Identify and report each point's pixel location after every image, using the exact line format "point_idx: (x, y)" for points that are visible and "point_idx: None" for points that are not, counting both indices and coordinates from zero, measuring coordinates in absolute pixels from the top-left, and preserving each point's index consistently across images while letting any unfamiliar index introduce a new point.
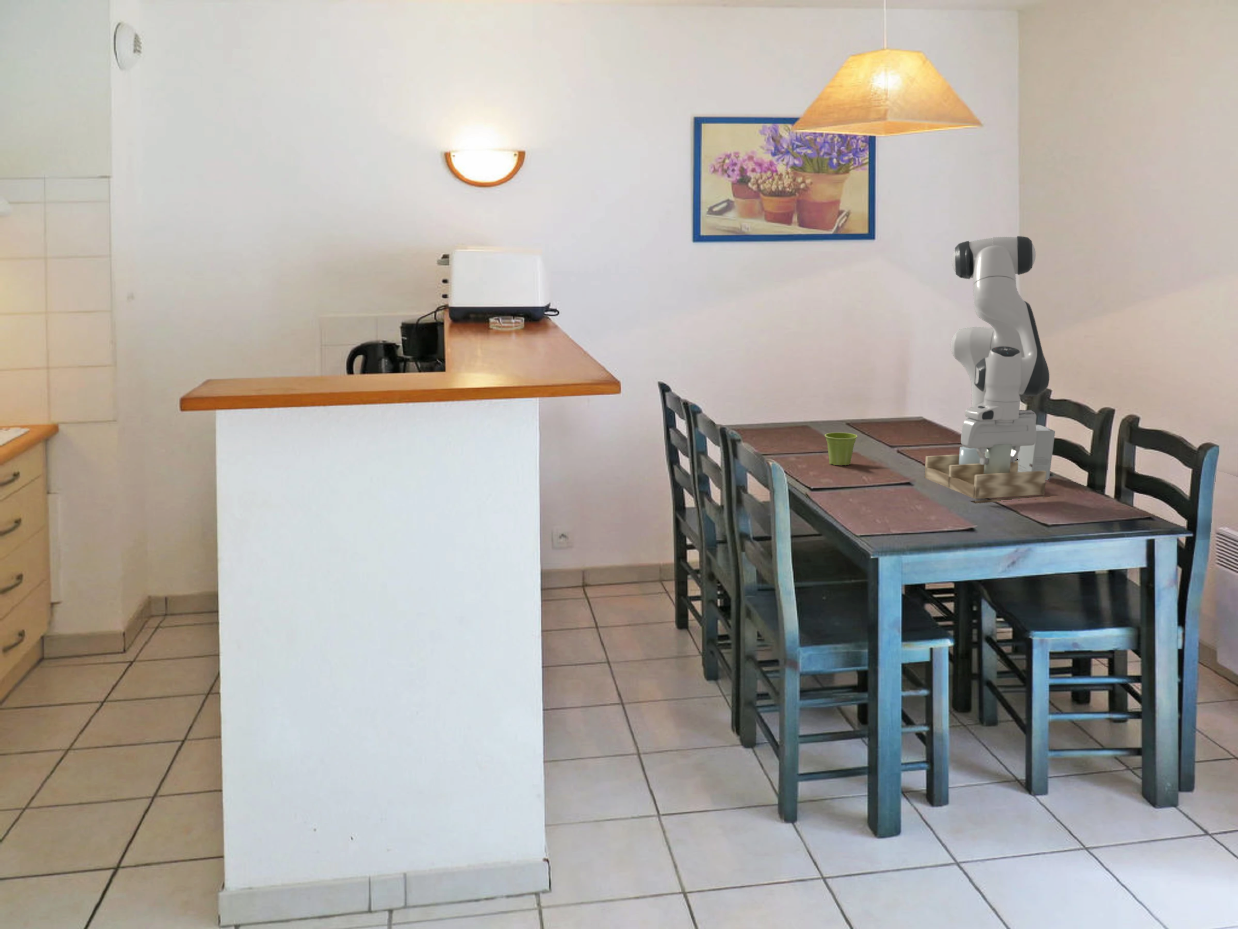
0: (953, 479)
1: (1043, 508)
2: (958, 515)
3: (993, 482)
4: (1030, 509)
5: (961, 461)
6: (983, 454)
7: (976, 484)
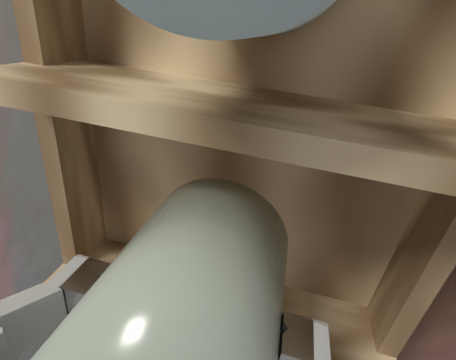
0: (39, 114)
1: None
2: (15, 287)
3: None
4: None
5: None
6: (25, 345)
7: None
